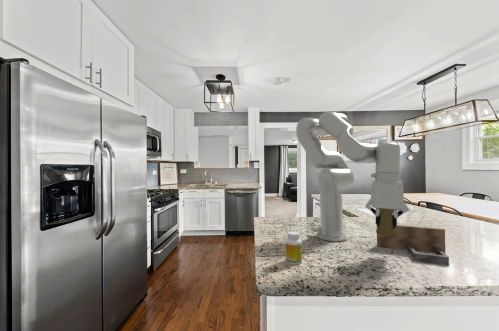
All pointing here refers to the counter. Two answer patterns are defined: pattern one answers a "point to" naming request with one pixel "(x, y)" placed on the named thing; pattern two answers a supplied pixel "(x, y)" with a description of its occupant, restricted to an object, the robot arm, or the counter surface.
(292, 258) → the supplement bottle
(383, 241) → the cleat board
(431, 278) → the counter surface
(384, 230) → the olive tall block
